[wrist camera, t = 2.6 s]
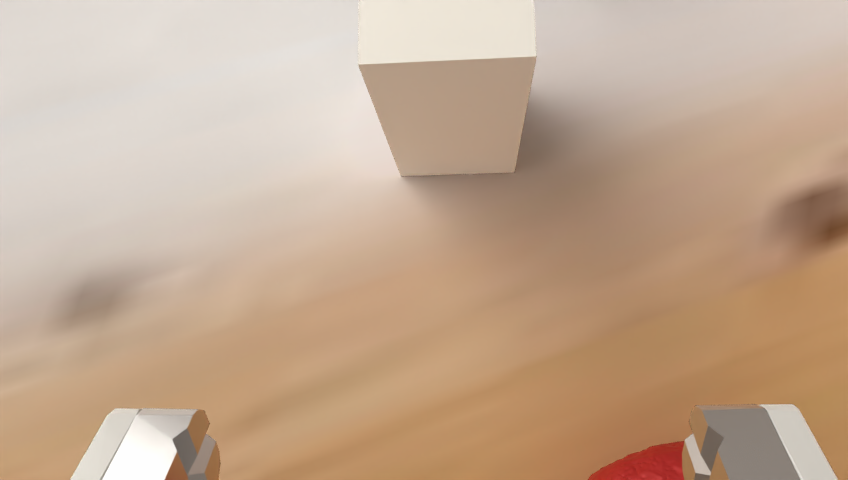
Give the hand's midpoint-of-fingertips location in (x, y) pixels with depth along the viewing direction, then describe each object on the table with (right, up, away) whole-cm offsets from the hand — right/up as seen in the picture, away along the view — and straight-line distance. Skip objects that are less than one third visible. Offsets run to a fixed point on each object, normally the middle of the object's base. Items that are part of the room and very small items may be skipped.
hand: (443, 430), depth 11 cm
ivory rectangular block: (+1, +8, +19) cm, 20 cm away
